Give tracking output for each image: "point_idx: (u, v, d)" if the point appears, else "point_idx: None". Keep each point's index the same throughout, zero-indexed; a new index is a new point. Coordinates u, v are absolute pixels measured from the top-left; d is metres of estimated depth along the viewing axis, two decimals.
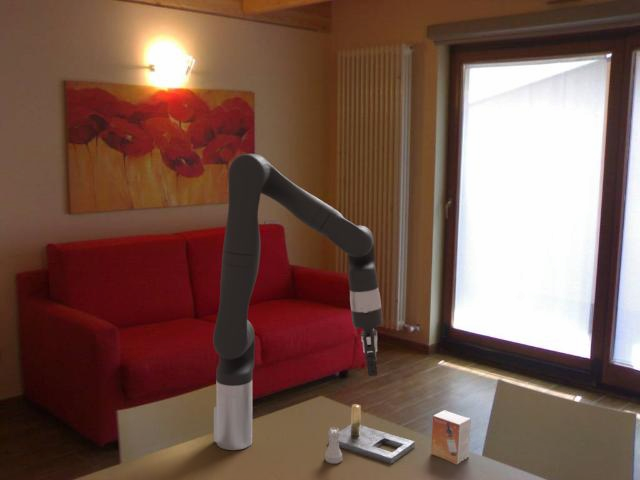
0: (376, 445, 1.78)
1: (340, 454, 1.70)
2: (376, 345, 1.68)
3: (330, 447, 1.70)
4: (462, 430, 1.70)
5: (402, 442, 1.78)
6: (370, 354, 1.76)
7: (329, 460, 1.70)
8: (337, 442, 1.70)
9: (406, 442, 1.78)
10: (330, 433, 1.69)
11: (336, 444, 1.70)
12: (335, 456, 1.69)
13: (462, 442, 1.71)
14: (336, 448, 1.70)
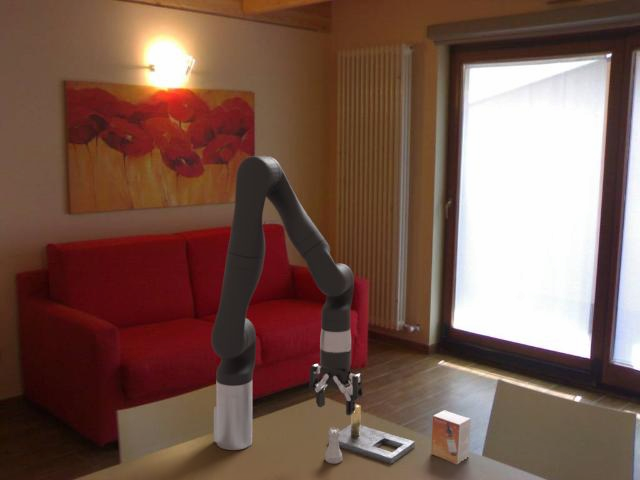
0: (376, 445, 1.78)
1: (340, 454, 1.70)
2: (350, 383, 1.68)
3: (330, 447, 1.70)
4: (462, 430, 1.70)
5: (402, 442, 1.78)
6: (321, 396, 1.71)
7: (329, 460, 1.70)
8: (337, 442, 1.70)
9: (406, 442, 1.78)
10: (330, 433, 1.69)
11: (336, 444, 1.70)
12: (335, 456, 1.69)
13: (462, 442, 1.71)
14: (336, 448, 1.70)
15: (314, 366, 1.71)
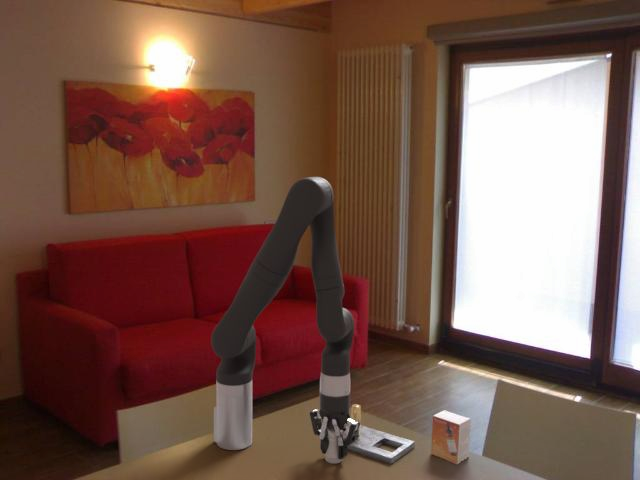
0: (376, 445, 1.78)
1: None
2: (346, 427, 1.70)
3: (330, 447, 1.70)
4: (462, 430, 1.70)
5: (402, 442, 1.78)
6: (325, 443, 1.72)
7: (329, 460, 1.70)
8: (337, 442, 1.70)
9: (406, 442, 1.78)
10: (330, 433, 1.69)
11: (336, 444, 1.70)
12: (335, 456, 1.69)
13: (462, 442, 1.71)
14: (336, 448, 1.70)
15: (313, 411, 1.72)
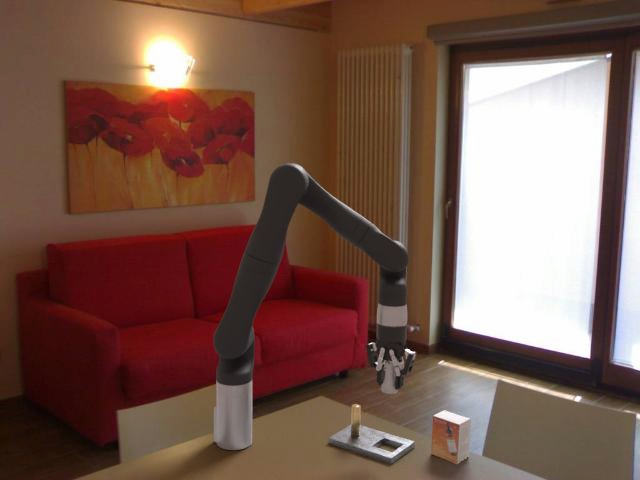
0: (376, 445, 1.78)
1: None
2: None
3: (387, 378, 1.73)
4: (462, 430, 1.70)
5: (402, 442, 1.78)
6: (382, 374, 1.75)
7: (386, 391, 1.73)
8: (393, 373, 1.73)
9: (406, 442, 1.78)
10: (387, 364, 1.73)
11: (393, 375, 1.73)
12: (392, 386, 1.73)
13: (462, 442, 1.71)
14: (392, 379, 1.73)
15: (369, 344, 1.76)
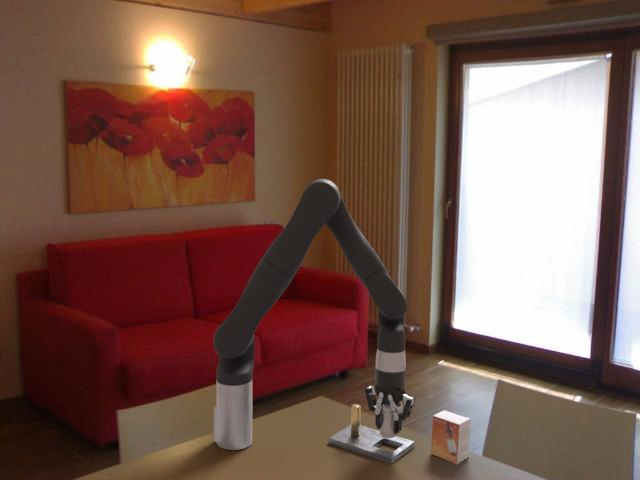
0: (376, 445, 1.78)
1: None
2: (401, 403, 1.75)
3: (385, 422, 1.75)
4: (462, 430, 1.70)
5: (402, 442, 1.78)
6: (380, 418, 1.77)
7: (384, 435, 1.75)
8: (392, 417, 1.75)
9: (406, 442, 1.78)
10: (385, 408, 1.74)
11: (391, 419, 1.75)
12: (390, 431, 1.74)
13: (462, 442, 1.71)
14: (391, 423, 1.75)
15: (368, 388, 1.78)
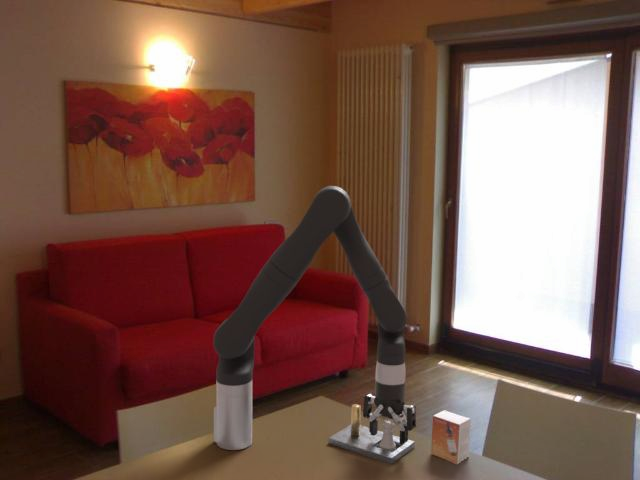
0: (376, 445, 1.78)
1: (394, 444, 1.76)
2: (403, 413, 1.75)
3: (384, 438, 1.76)
4: (462, 430, 1.70)
5: None
6: (374, 425, 1.78)
7: None
8: (391, 433, 1.76)
9: (406, 442, 1.78)
10: (385, 424, 1.75)
11: (391, 435, 1.75)
12: (390, 446, 1.75)
13: (462, 442, 1.71)
14: (390, 439, 1.75)
15: (368, 396, 1.78)
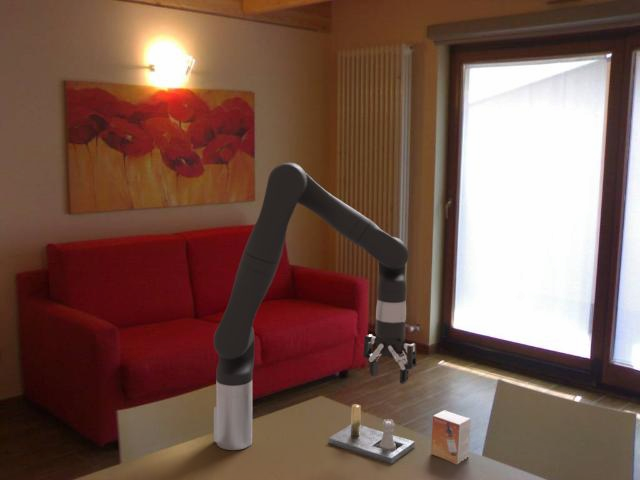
0: (376, 445, 1.78)
1: (394, 444, 1.76)
2: (404, 353, 1.74)
3: (384, 438, 1.76)
4: (462, 430, 1.70)
5: (402, 442, 1.78)
6: (375, 365, 1.77)
7: None
8: (391, 433, 1.76)
9: (406, 442, 1.78)
10: (385, 424, 1.75)
11: (391, 434, 1.76)
12: (390, 446, 1.75)
13: (462, 442, 1.71)
14: (390, 439, 1.75)
15: (368, 336, 1.77)
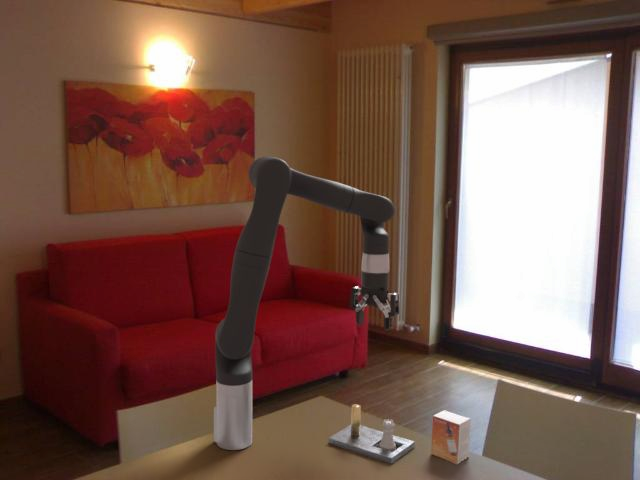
0: (376, 445, 1.78)
1: (394, 444, 1.76)
2: None
3: (384, 438, 1.76)
4: (462, 430, 1.70)
5: (402, 442, 1.78)
6: (361, 315, 1.90)
7: None
8: (391, 433, 1.76)
9: (406, 442, 1.78)
10: (385, 424, 1.75)
11: (391, 435, 1.75)
12: (390, 446, 1.75)
13: (462, 442, 1.71)
14: (390, 439, 1.75)
15: (355, 288, 1.90)
